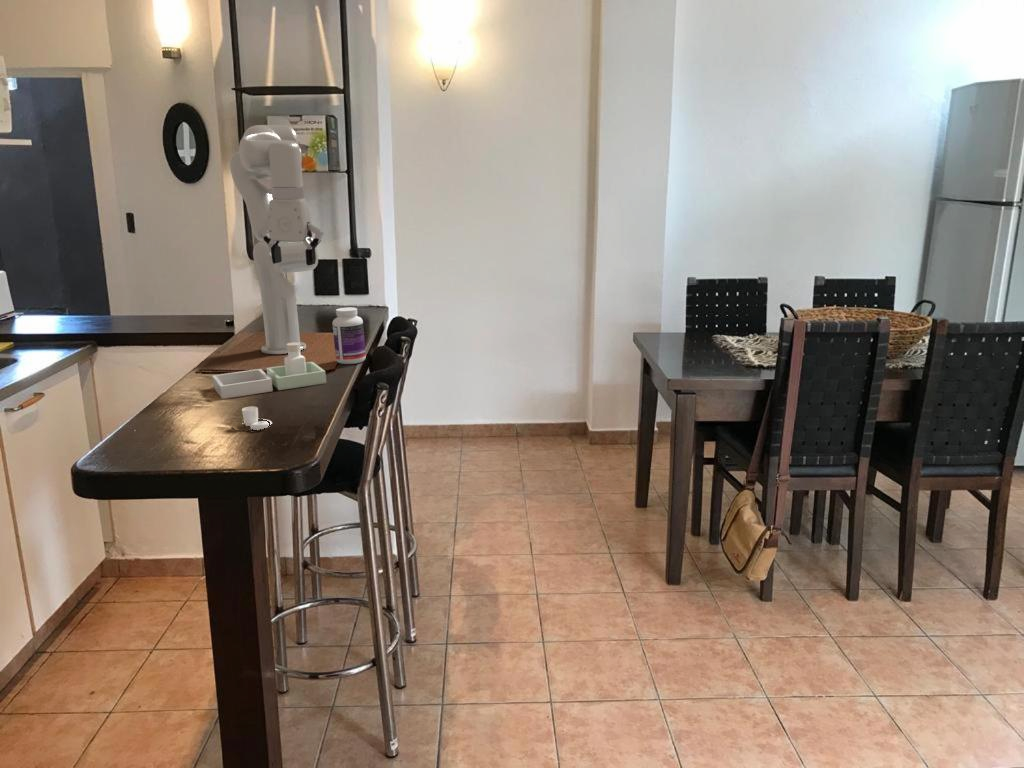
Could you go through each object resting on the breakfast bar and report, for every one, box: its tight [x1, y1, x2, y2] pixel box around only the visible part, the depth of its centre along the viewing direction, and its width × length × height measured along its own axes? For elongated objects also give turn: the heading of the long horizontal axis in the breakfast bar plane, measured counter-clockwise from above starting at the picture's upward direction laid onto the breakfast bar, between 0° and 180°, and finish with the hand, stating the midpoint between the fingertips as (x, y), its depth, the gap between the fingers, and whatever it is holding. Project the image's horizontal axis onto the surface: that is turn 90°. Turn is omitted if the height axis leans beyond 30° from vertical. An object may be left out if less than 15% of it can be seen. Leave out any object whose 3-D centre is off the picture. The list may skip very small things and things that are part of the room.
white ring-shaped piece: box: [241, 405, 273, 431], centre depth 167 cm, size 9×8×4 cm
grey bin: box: [211, 368, 274, 400], centre depth 194 cm, size 12×12×3 cm
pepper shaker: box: [283, 342, 307, 376], centre depth 200 cm, size 4×4×10 cm
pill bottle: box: [332, 306, 367, 365], centre depth 217 cm, size 8×8×14 cm
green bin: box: [266, 361, 327, 391], centre depth 200 cm, size 12×12×3 cm
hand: (294, 263), depth 204 cm, fingers open, 9 cm apart
